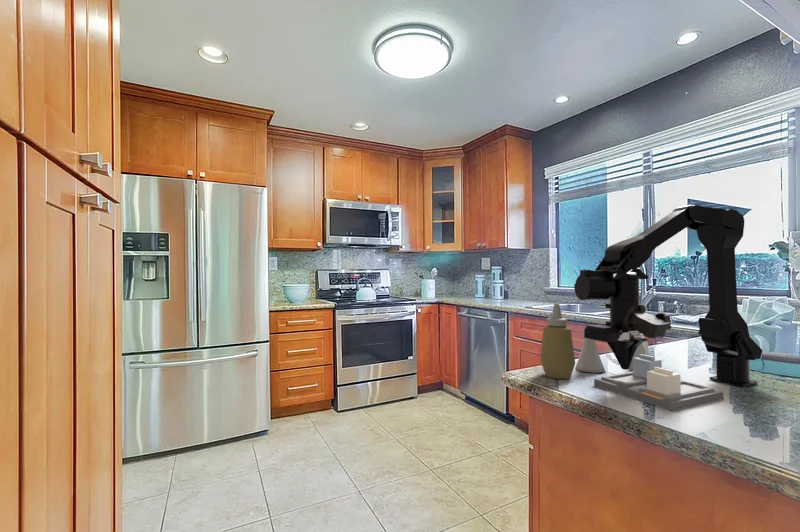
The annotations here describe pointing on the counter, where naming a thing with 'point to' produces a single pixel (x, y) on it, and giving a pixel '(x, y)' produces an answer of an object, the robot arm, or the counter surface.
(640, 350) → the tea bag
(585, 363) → the flask
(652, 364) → the tab blue
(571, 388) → the counter surface
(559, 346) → the squeeze bottle
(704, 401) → the grey divided tray
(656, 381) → the tab ivory
